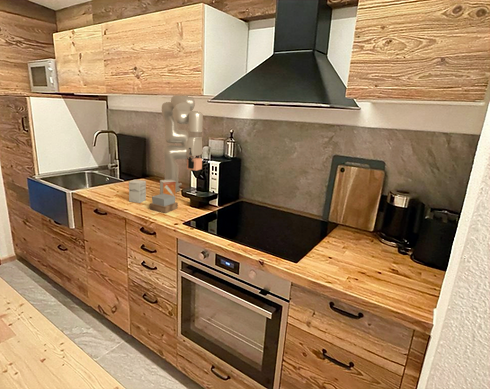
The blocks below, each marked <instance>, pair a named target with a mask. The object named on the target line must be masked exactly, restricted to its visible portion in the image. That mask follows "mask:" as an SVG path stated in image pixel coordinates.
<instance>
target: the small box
mask: <svg viewBox="0 0 490 389" xmlns="http://www.w3.org/2000/svg"><path fill="white" fill-rule="evenodd" d="M163 193H164V194H168V195H172V196H175V197H176V193H177V192H176V182H175V181H174V180H165V179H160V180H159V195H160V194H163Z"/></svg>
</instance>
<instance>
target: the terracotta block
mask: <svg viewBox="0 0 490 389" xmlns="http://www.w3.org/2000/svg"><path fill="white" fill-rule="evenodd" d="M193 161H194V168H193V169H192V168H188V159H186V170H190V171H200V170H203V158H202V157H201V158H196V157H195V156H194V159H193Z"/></svg>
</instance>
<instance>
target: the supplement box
mask: <svg viewBox="0 0 490 389" xmlns="http://www.w3.org/2000/svg"><path fill="white" fill-rule="evenodd" d="M146 194H147V180H143V179H142V180H141V179H133V180H130V181H128V202H131V203H138V204H141V203H143V202H146V200H147V195H146Z"/></svg>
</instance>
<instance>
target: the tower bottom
mask: <svg viewBox="0 0 490 389" xmlns="http://www.w3.org/2000/svg"><path fill="white" fill-rule="evenodd" d="M177 209H178V202H176V201H175V203H173V204H170V205H167V206H161V205H157V204H153V203H152V202H151V203H149V210H150V211H152V212H153V211H154V212H156V213H157V212H158V213H161V214H168V213H171V212H172V211H175V210H177Z"/></svg>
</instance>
